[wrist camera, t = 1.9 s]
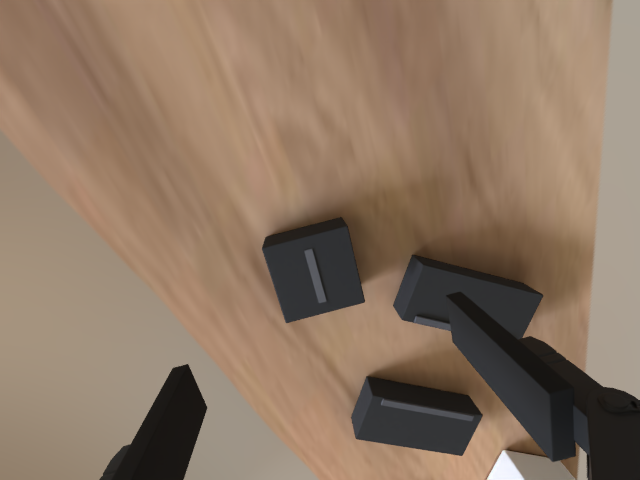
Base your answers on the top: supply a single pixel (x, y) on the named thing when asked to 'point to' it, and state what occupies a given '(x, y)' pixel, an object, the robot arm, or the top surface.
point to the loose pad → (313, 269)
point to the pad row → (425, 403)
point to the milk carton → (528, 468)
